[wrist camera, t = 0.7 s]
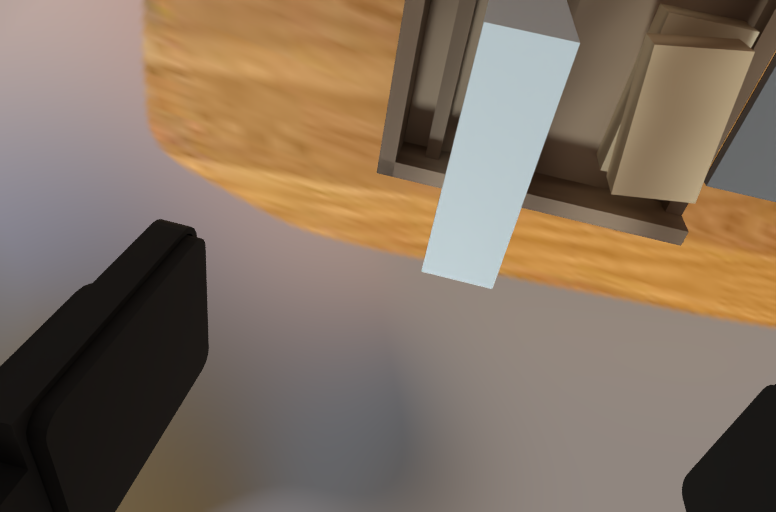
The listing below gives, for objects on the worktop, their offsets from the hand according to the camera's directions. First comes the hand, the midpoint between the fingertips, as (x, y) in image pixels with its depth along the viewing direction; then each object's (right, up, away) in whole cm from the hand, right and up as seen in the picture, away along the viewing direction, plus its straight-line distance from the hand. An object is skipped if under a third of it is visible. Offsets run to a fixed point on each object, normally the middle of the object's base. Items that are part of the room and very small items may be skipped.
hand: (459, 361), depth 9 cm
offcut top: (+11, +8, +14) cm, 20 cm away
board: (+4, +11, +16) cm, 20 cm away
